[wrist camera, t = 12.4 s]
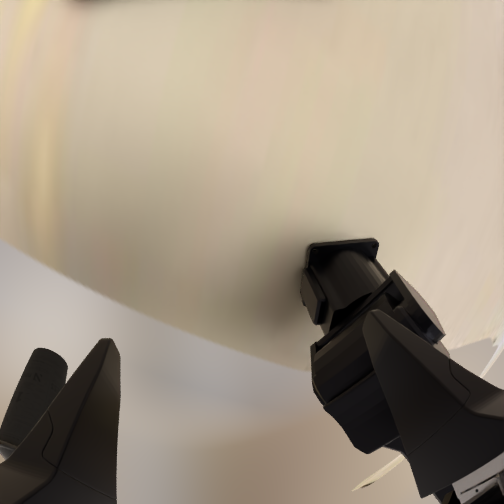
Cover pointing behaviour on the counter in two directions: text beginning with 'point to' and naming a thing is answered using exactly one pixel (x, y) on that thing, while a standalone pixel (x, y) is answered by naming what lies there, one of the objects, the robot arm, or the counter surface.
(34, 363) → the drinking cup
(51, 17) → the counter surface
